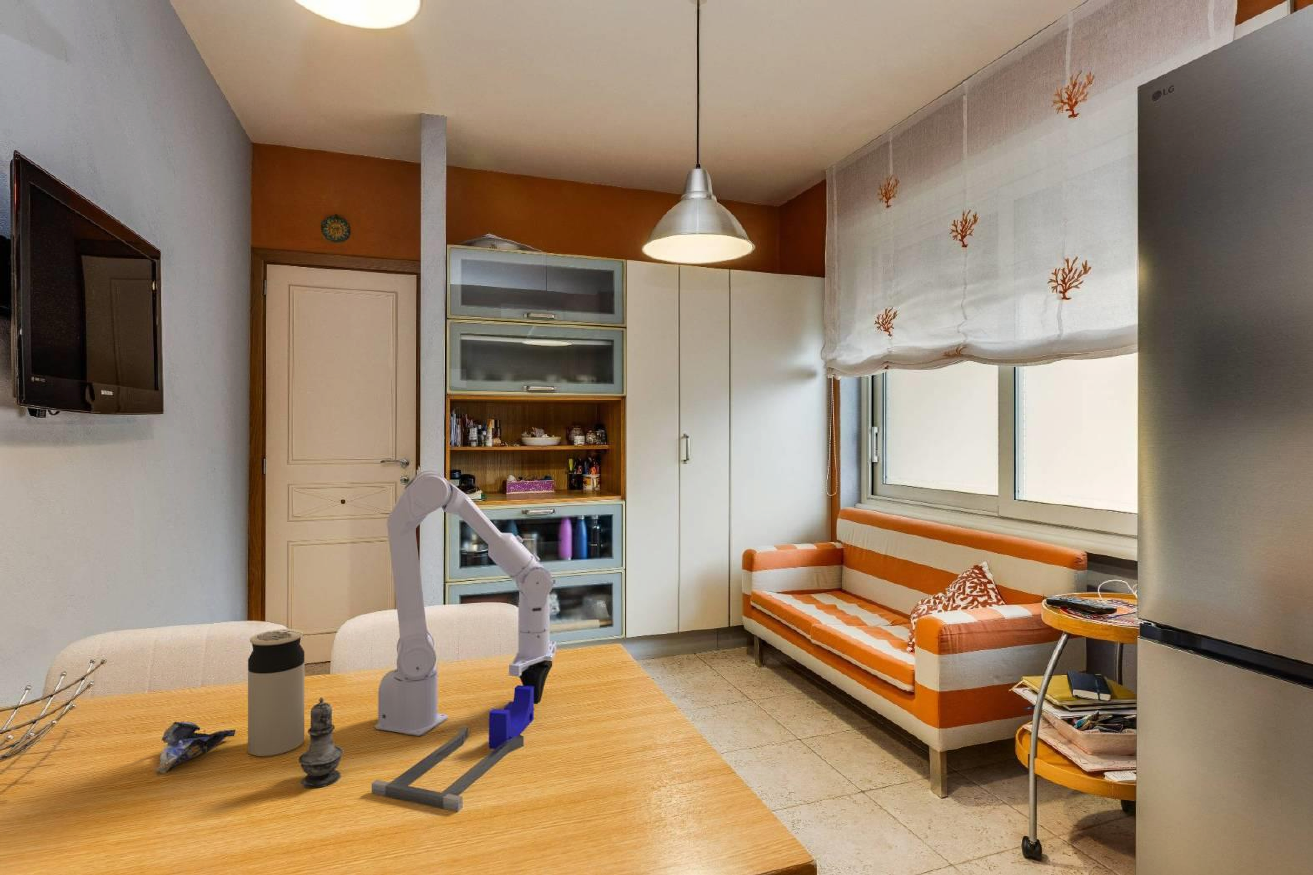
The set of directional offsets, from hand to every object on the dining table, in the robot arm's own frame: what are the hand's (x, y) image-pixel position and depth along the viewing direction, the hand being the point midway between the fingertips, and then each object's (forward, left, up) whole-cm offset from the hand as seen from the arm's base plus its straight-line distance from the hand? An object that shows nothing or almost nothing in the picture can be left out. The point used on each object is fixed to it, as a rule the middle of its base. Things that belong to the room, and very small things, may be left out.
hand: (533, 702), depth 125 cm
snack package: (-43, -33, -2) cm, 54 cm away
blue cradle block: (+1, -11, -1) cm, 11 cm away
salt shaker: (-17, -33, -1) cm, 37 cm away
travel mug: (-32, -27, -1) cm, 42 cm away
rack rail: (0, -24, -1) cm, 24 cm away
